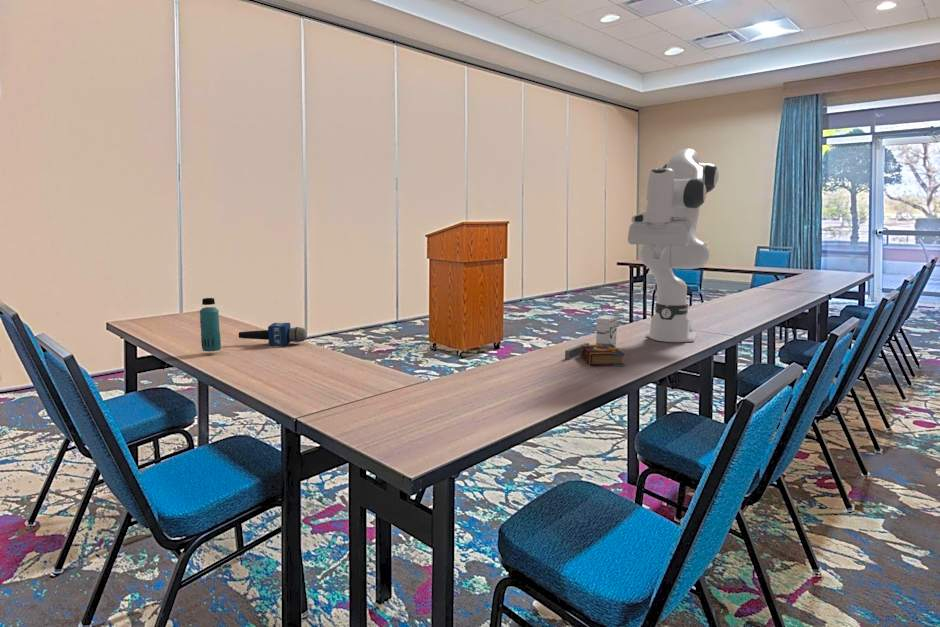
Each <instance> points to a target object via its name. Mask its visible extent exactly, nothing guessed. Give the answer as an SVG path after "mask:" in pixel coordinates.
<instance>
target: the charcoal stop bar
mask: <svg viewBox="0 0 940 627" xmlns="http://www.w3.org/2000/svg"><path fill="white" fill-rule="evenodd" d="M581 345H590V343H589V342H584V343H581V344H577V345H576V346H573V347H570V348H568V349H566V350H564V360H568V359H569V360H571V358H572V359H573V357H574V358H576V357H579V356H581V355H580V354H581ZM578 355H579V356H578Z"/></svg>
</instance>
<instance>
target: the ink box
mask: <svg viewBox="0 0 940 627" xmlns="http://www.w3.org/2000/svg"><path fill="white" fill-rule="evenodd" d="M617 324H618V316H616V315H607V314H604V315H601V316H598V317H597V318H596V340H595V341H596V342H595V345H602V344H613V345H614V346H615V348H617V328H618V327H617Z"/></svg>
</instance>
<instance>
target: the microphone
mask: <svg viewBox="0 0 940 627" xmlns="http://www.w3.org/2000/svg"><path fill="white" fill-rule="evenodd" d="M238 338H239V339H245V340H246V339H248V340H249V339H250V340H264V341H265V340H268V347H269V346H281V347H288V346H289V345H290V344H291V343H292V342H293V343H302V342H304V341H306V340H307V330H306V328H304V327H298V326H295V327H291V322H273V323H271V324H269V326H267V329H266V330H250V331H249V330H248V331H240V332H238ZM290 342H291V343H290ZM289 343H290V344H289Z"/></svg>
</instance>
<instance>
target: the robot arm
mask: <svg viewBox="0 0 940 627" xmlns="http://www.w3.org/2000/svg"><path fill="white" fill-rule="evenodd" d="M700 159H701V158H700V156H699V154H698V152H697V151H696V150H694V149H692V148H681V149H680V150H679V151H677V152H675V154H674V155H672V157H671V158H670V159H669V160H668V162H667V163H666V164H664V165H663V166H662V167H658V168H653V169H652V170H650V171H649V173H648V174H649V175H648V180H647V185H646V186H647V187H646V199H647V203H646V207H645V212H642V213H639V214H635V215H633V216H632V217H631V218H630V220H631V224H630V226H629V228H628V236H627V242H628V243H629V245H642V247H641V248H640V252H639V256H640V260H641V262H642V264H643V265H644V266H646V267H647V268H648V269H649V271H651V274H652V275H653V277H654V278H655V282H656V303H655V306H654V308H655V309H654V310H655V311H654V315H652V316H651V320H650V326H649V327H650V328H649V333H646V338H650V339H651V340H654V341H659V342H666V343H667V342H668V343H689V342H690V343H693V342H695V341H696V338H697V336H698V333H697V332H693V330H692V321H691V320H692V319H691V318H690V316H689V315H688V313H689V312H688V310H689V303H687V297H688V296H687V295H688V285H687V284H686V283H687V282H685V281H684V280H683V279H682V278H680V277H678V276H676V275H675V273H674V271H673V270H674V269H678V270H679V269H681V270H694V269H700V268H703V267H705V266H706V264H708V262H709V258H710V250H709V248H708V246H707V244H706V243H705V242H703V241H702V240H701V239H700V238H699V236H698V235H697V225H698V219H699V214H700V208H701V206H703V204H704V203H705V201H706V197H707V194H708V193H710V192H711V191H713V189H714V188H716V185H717V184H718V181H719V176H720V175H719V171H718V167H717V165H715V164H713V163H708V162H706V163H703V162H700Z"/></svg>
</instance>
